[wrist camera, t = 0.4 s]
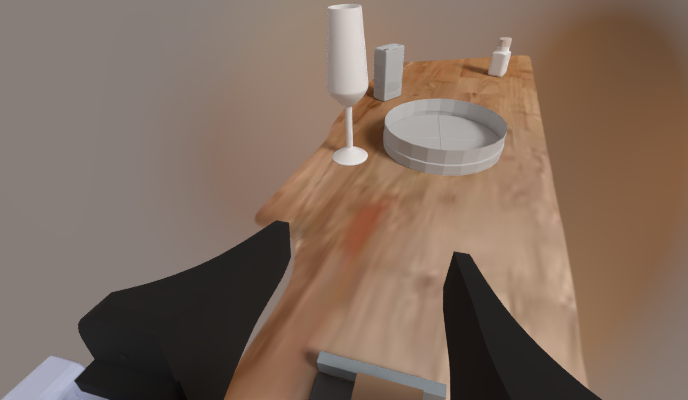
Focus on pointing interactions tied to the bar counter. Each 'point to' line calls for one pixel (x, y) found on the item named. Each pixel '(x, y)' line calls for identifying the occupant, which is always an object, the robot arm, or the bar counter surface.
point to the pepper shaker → (500, 58)
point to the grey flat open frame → (336, 394)
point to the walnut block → (383, 389)
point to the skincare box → (388, 71)
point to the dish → (444, 136)
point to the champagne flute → (347, 70)
